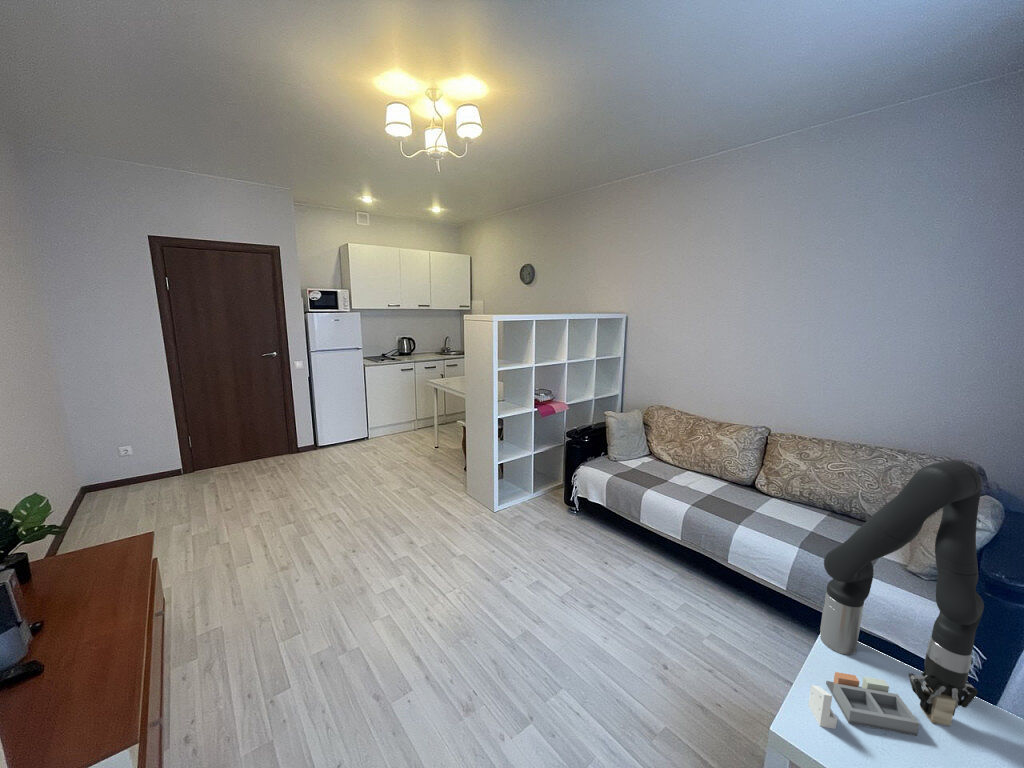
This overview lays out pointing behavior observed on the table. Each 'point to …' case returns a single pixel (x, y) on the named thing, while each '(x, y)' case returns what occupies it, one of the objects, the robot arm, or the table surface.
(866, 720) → the socket block
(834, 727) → the white angled block
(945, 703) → the tan rectangular block
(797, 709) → the table surface
